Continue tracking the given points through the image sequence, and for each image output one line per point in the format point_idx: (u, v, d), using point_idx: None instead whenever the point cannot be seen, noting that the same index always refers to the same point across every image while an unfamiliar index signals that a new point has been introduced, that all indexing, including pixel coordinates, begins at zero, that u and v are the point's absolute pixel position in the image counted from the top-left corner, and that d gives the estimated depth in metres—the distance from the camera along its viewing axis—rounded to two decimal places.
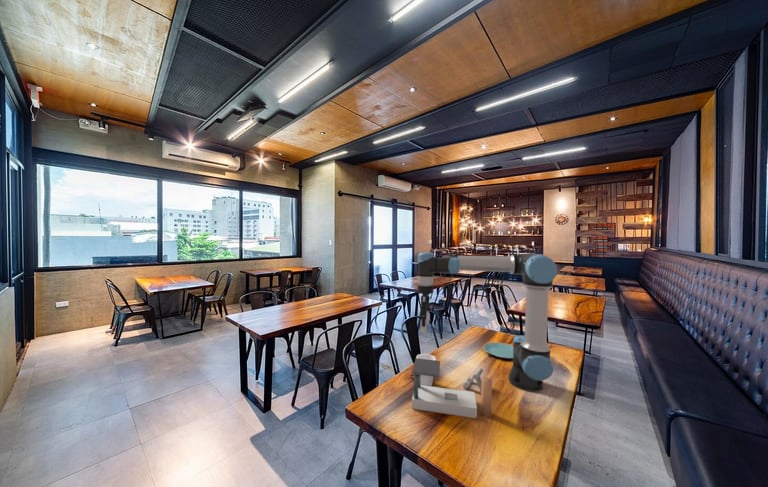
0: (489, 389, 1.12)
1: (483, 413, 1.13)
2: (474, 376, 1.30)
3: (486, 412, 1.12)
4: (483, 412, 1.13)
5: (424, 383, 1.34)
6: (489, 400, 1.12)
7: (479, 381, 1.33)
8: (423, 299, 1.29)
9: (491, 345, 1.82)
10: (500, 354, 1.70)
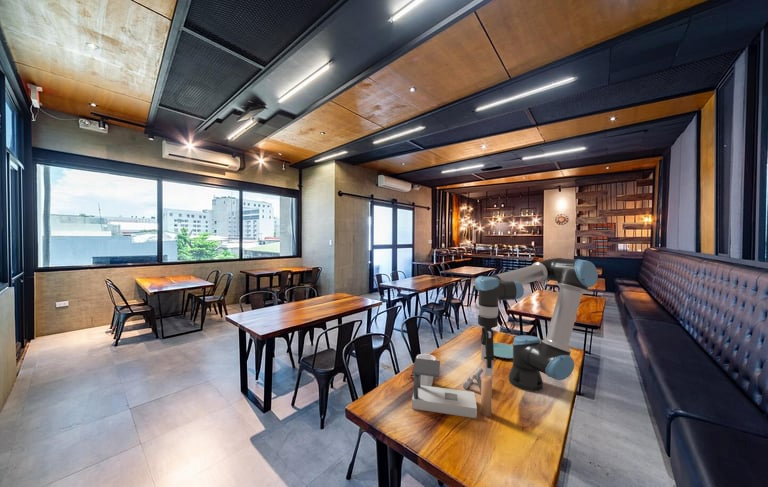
0: (489, 389, 1.12)
1: (483, 413, 1.13)
2: (474, 376, 1.30)
3: (486, 412, 1.12)
4: (483, 412, 1.13)
5: (424, 383, 1.34)
6: (489, 400, 1.12)
7: (479, 381, 1.33)
8: (489, 335, 1.07)
9: None
10: (500, 354, 1.70)
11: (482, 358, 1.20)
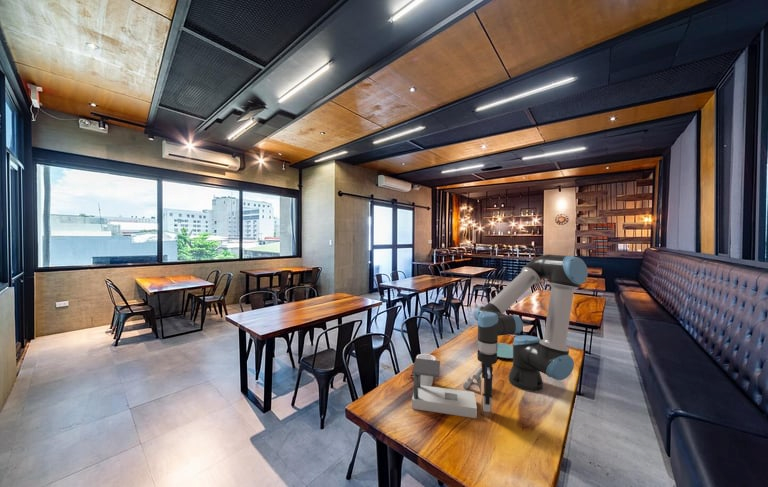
0: None
1: (483, 413, 1.13)
2: (474, 376, 1.30)
3: (486, 412, 1.12)
4: (483, 412, 1.13)
5: (424, 383, 1.34)
6: None
7: (479, 381, 1.33)
8: (488, 377, 1.08)
9: None
10: (500, 354, 1.70)
11: None
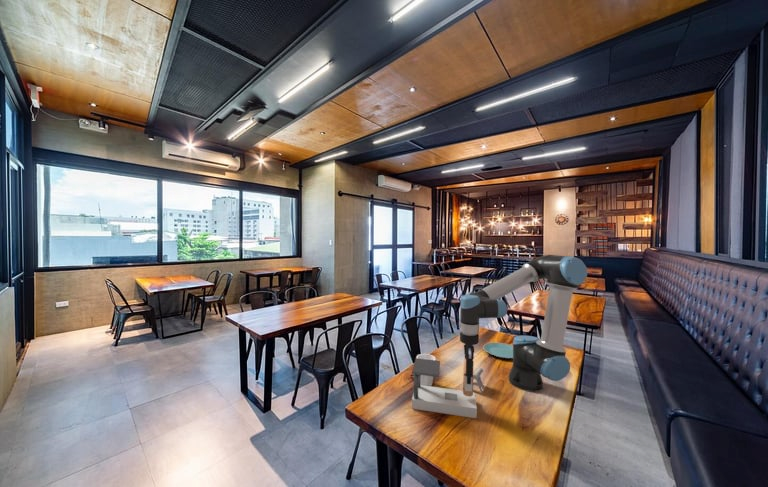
0: None
1: (465, 393, 1.16)
2: (474, 376, 1.30)
3: (467, 391, 1.16)
4: (465, 392, 1.16)
5: (424, 383, 1.34)
6: None
7: (479, 381, 1.33)
8: (469, 356, 1.11)
9: (491, 345, 1.82)
10: (500, 354, 1.70)
11: None
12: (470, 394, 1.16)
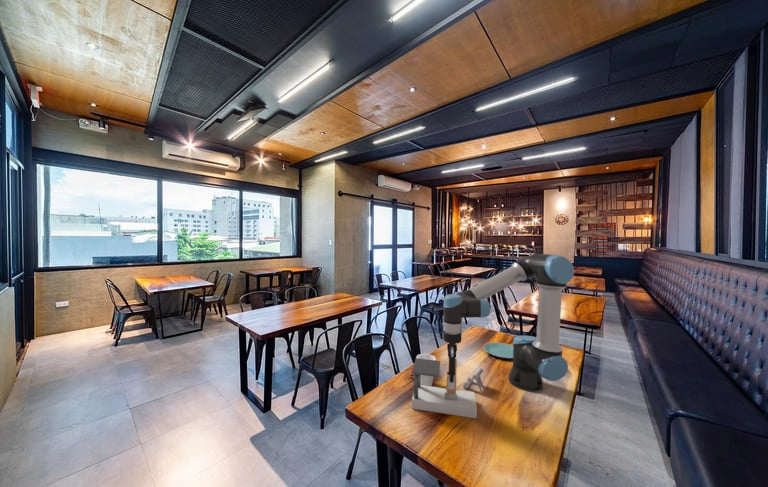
0: None
1: (448, 391, 1.18)
2: (474, 376, 1.30)
3: (450, 389, 1.17)
4: (448, 390, 1.18)
5: (424, 383, 1.34)
6: None
7: (479, 381, 1.33)
8: (451, 355, 1.13)
9: (491, 345, 1.82)
10: (500, 354, 1.70)
11: None
12: (453, 392, 1.17)
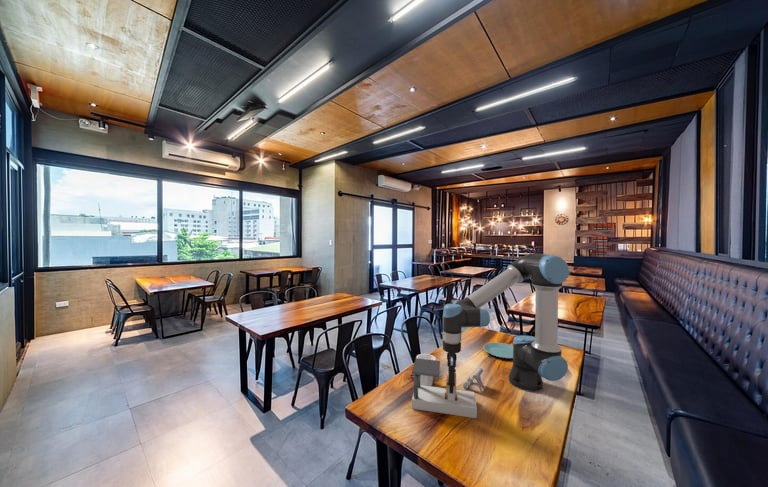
0: None
1: None
2: (474, 376, 1.30)
3: None
4: None
5: (424, 383, 1.34)
6: None
7: (479, 381, 1.33)
8: (451, 363, 1.12)
9: (491, 345, 1.82)
10: (500, 354, 1.70)
11: None
12: None
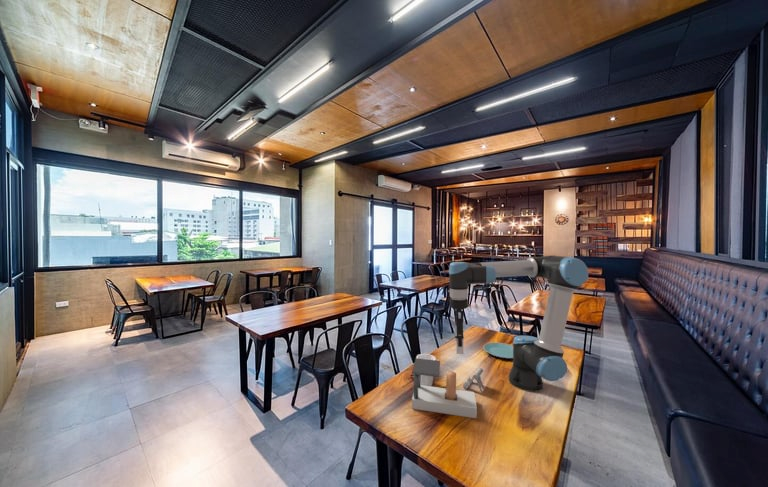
0: (453, 382, 1.17)
1: None
2: (474, 376, 1.30)
3: None
4: None
5: (424, 383, 1.34)
6: (453, 392, 1.17)
7: (479, 381, 1.33)
8: (459, 315, 1.14)
9: (491, 345, 1.82)
10: (500, 354, 1.70)
11: None
12: None
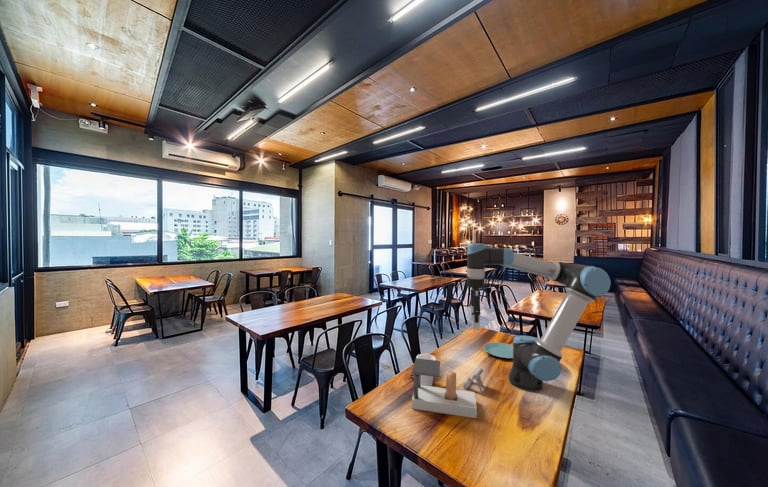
0: (453, 382, 1.17)
1: None
2: (474, 376, 1.30)
3: None
4: None
5: (424, 383, 1.34)
6: (453, 392, 1.17)
7: (479, 381, 1.33)
8: (476, 293, 1.19)
9: (491, 345, 1.82)
10: (500, 354, 1.70)
11: (471, 318, 1.32)
12: None
